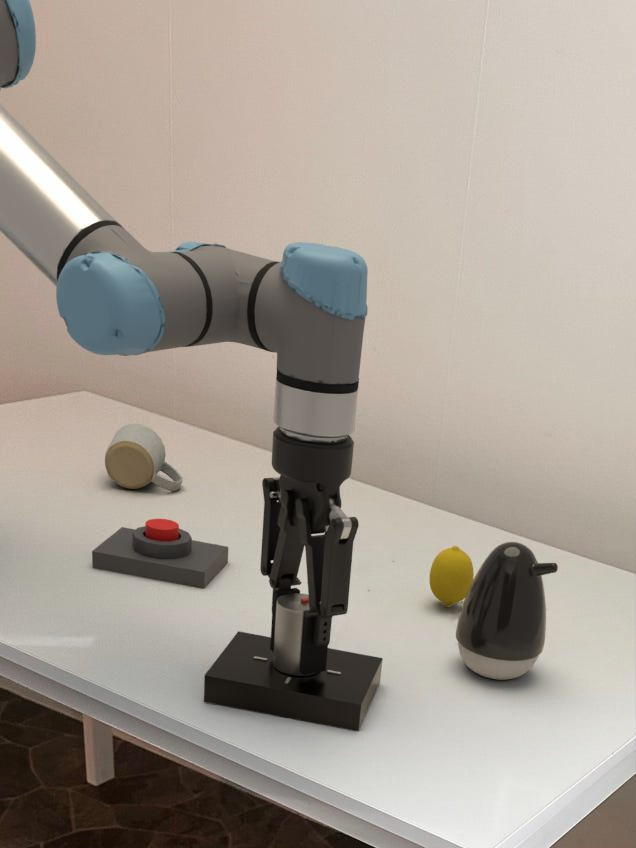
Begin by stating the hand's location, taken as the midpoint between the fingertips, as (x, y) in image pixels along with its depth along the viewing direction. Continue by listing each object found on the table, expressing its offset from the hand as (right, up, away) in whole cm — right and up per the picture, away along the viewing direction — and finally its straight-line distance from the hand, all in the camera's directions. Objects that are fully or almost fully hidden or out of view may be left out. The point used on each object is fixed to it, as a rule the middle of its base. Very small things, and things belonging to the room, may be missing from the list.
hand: (297, 659), depth 123 cm
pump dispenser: (+21, +1, +14) cm, 25 cm away
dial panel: (-1, -3, +2) cm, 4 cm away
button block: (-21, +16, +26) cm, 37 cm away
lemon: (+15, +11, +29) cm, 34 cm away
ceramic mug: (-31, +34, +51) cm, 69 cm away
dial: (0, -1, 0) cm, 1 cm away
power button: (-20, +19, +24) cm, 37 cm away
